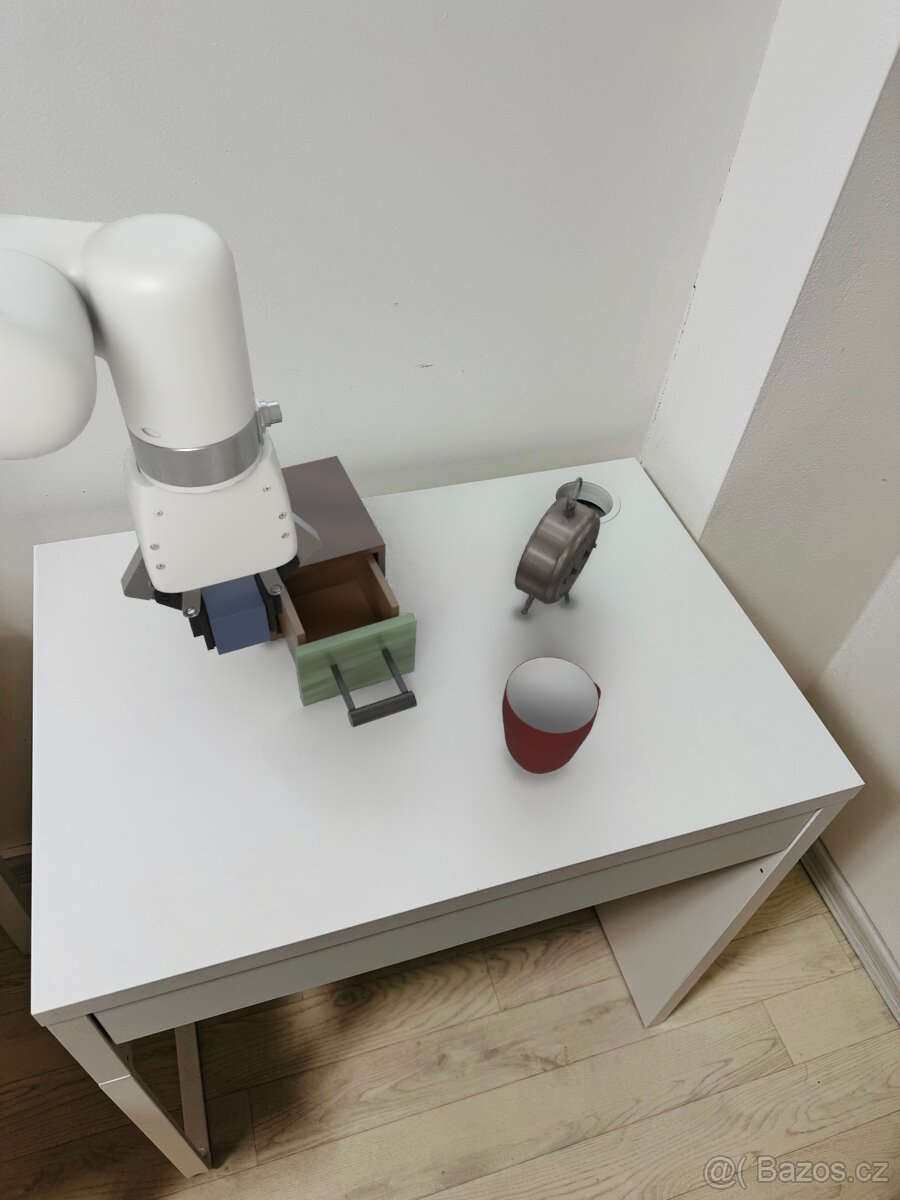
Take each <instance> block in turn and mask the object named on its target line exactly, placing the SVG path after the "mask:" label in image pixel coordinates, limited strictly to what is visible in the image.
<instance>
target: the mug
mask: <svg viewBox="0 0 900 1200" xmlns="http://www.w3.org/2000/svg"><path fill="white" fill-rule="evenodd" d="M601 695H602V690H601V687H600V686H599V684H598V683H596V682H595V681H594V680H593V678H592V677H591V676H590V674H589V673H587V672H586V671H585V670H584V669H583V668H581V666H580V665H578V664H576V663H574V662H573V661H569V660H567V659H564V658H560V657H555V656H538V657H534V658H531V659H527V660H525V661H523V662H521V663H520V664H518V665H517V666H516V667H515V668H514V669H513V670H512V671H511V673H509V676H508V678H507V680H506V683H505V687H504V691H503V697H502V703H501V716H502V725H503V733H504V741H505V745H506V748H507V751H508V752H509V754H510V756H511V757H512V759H513V760H514V761H515V763H517V765H518V766H520V767H521V768H522V769H523V770H525V771H526V772H528V773H530V774H536V775H544V774H548V773H552V772H554V771H557V770H559V769H561V768H562V767H564V766H566V765H567V764H568V763H569V762H570V761H571V759H572V758H573V757H574V756H575V754H576V753H577V752H578V750H580V748H581V746H582V745H583V743H584V742H585V740H586V739H587V738H588V736H589V734H590V733H591V731H592V729H593V727H594V723H595V721H596V717H597V715H598V711H599V706H600V700H601Z"/></svg>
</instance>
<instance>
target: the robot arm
mask: <svg viewBox="0 0 900 1200" xmlns="http://www.w3.org/2000/svg"><path fill="white" fill-rule="evenodd" d="M244 321H245V320H244V315H243V309H242V301H241V295H240V289H239V282H238V275H237V269H236V265H235V259H234V255H233V253H232V250H231V247H230V245H229V244H228V242H227V240H226V239H225V238H224V236H223V235H222V234H221V232H219V231H218V230H217V229H216V228H215V227H214V226H212V225H211V224H208V223H206V222H205V221H203V220H201V219H199V218H197V217H194V216H190V215H186V214H181V213H174V212H173V213H172V212H148V213H140V214H133V215H129V216H126V217H122V218H119V219H116V220H114V221H107V222H106V221H92V220H91V221H89V220H79V219H68V218H67V219H66V218H56V217H48V216H47V217H46V216H39V215H28V214H16V213H0V460H1V461H19V460H22V461H23V460H30V459H38V458H41V457H44V456H47V455H50V454H53V453H56V452H58V451H60V450H62V449H63V448H66V447H67V446H68V445H70V444H71V443H72V442H73V441H75V440H76V439H77V438H78V437H79V436H80V435H81V434H82V433H83V431H84V430H85V428H86V426H87V425H88V423H89V422H90V420H91V417H92V415H93V412H94V410H95V409H94V408H95V405H96V401H97V393H98V380H97V379H98V375H97V362H96V357H97V358H100V359H102V360H104V362H106V364H107V366H108V369H109V372H110V374H111V375H110V376H111V379H112V382H113V385H114V386H113V387H114V389H115V393H116V396H117V399H118V402H119V403H118V404H119V406H120V409H121V413H122V415H123V416H122V417H123V420H124V423H125V426H126V429H127V433H128V436H129V439H130V443H131V445H130V446H129V447H128V448H127V449H126V451H125V452H124V455H123V476H124V483H125V490H126V497H127V503H128V508H129V511H130V515H131V519H132V523H133V528H134V531H135V536H136V539H137V543H138V546H137V548H136V550H135V552H134V554H133V555H132V558H131V560H130V561H129V563H128V566H127V567H126V569H125V571H124V573H123V575H122V577H121V578H120V584H121V588H122V592H123V595H124V596H125V597H126V598H129V599H136V600H142V601H143V600H144V601H151V600H153V601H155V603H157V604H159V605H161V606H165V607H168V608H171V609H174V610H177V611H181V612H182V616H183V617H185V618H187V619H188V622H189V626H190V630H191V632H192V635H193V638H194V639H195V638H198V637H202V636H203V639H204V643H205V645H206V649H207V651H212V650H214V649H216V644H215V640H214V636H213V632H212V628H211V624H210V620H209V617H208V613H207V609H206V606H205V603H204V600H203V597H202V594H201V587H206V586H210V585H213V584H217V583H221V582H225V581H229V580H233V579H237V578H240V577H244V576H248V575H252V574H255V575H254V578H255V581H256V584H257V586H258V589H259V592H260V594H261V597H262V599H263V602H264V605H265V608H266V614H267V620H268V626H269V631H271V633H272V632H276V631H278V628H277V622H276V616H275V615H278V614H281V613H283V611H282V605H281V598H280V593H281V592H282V591H283V590H284V585H283V583H284V582H285V581H286V580H287V579H288V578H289V577H290V575H291V574H292V573H293V572H294V571H295V570H296V569H297V568H298V567H299V565H300V561H301V560H305V559H306V558H308V557H309V556H310V555H311V554H313V553H314V552H315V551H316V550H318V549H319V548H320V547H321V545H322V542H321V540H320V538H319V535H318V533H317V531H316V530H315V529H313V528H312V527H311V526H310V525H308V524H307V523H306V522H305V521H303V520H302V519H301V518H299V517H298V516H297V515H296V514H294V513H293V512H292V510H291V505H290V500H289V496H288V492H287V488H286V484H285V481H284V478H283V474H282V471H281V468H282V467H281V464H280V463H281V462H280V460H279V457H278V453H277V450H276V447H275V445H274V441H273V440H272V438H271V435H270V433H269V431H268V429H267V428H270V427H271V426H272V425H274V424H275V425H276V424H279V423H283V415H282V410H281V407H280V404H279V402H278V400H273V401H268V402H266V401H265V400H262V401H259V399H258V397H257V396H255V389H254V383H253V377H252V369H251V363H250V357H249V355H250V354H249V350H248V341H247V336H246V329H245V322H244Z"/></svg>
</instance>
